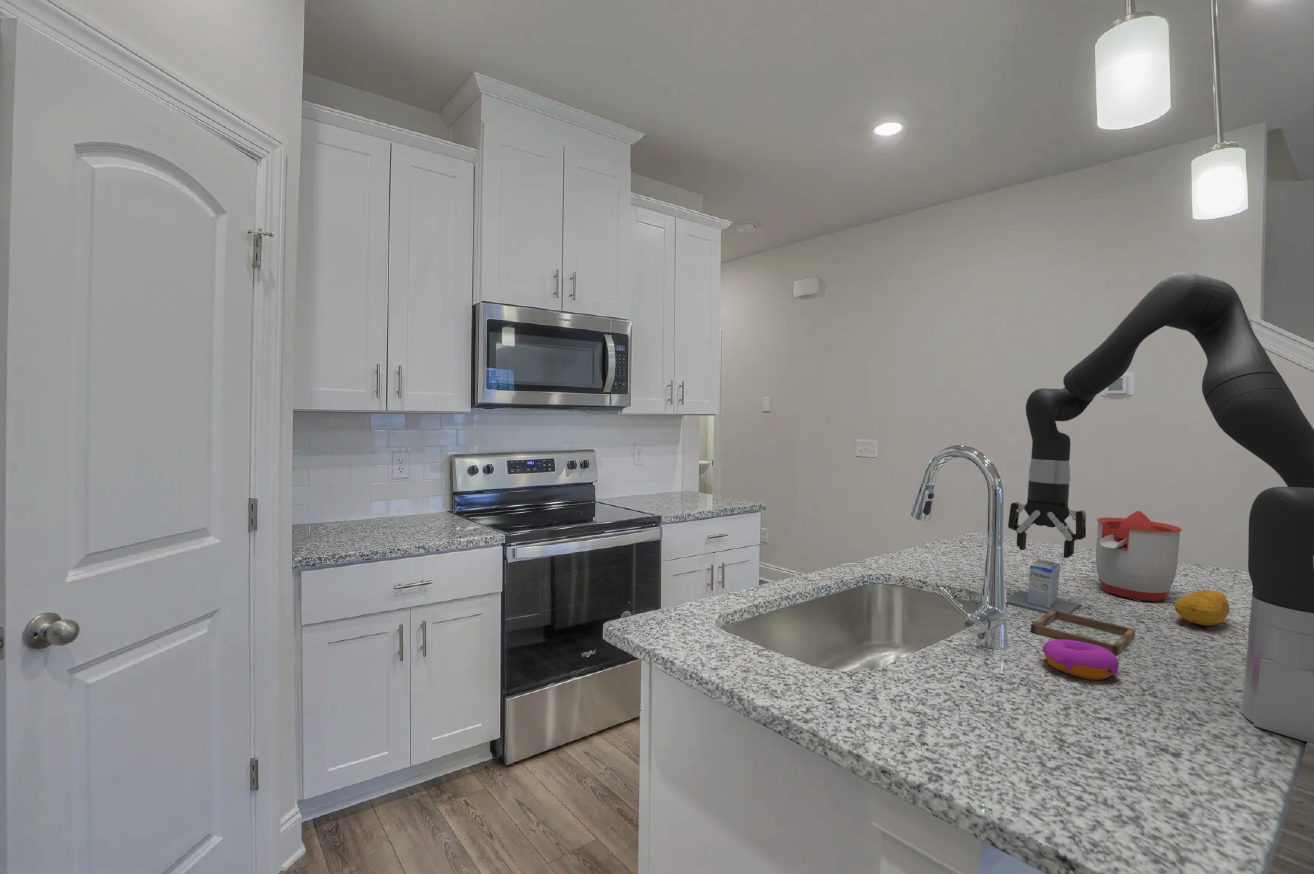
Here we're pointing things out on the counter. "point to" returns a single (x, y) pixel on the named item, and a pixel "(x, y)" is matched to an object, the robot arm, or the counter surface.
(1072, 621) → the walnut cradle
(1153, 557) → the citrus juicer
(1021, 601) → the slate mat
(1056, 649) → the donut
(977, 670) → the counter surface
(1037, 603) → the medicine box
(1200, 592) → the potato
